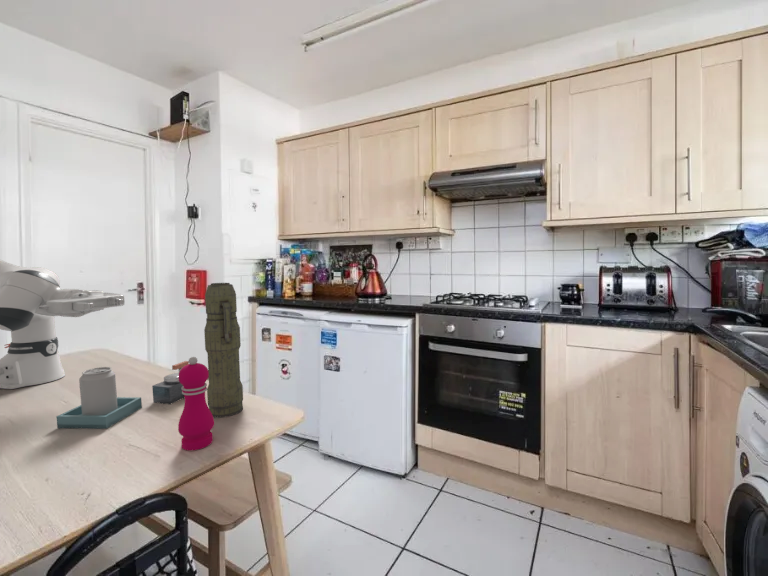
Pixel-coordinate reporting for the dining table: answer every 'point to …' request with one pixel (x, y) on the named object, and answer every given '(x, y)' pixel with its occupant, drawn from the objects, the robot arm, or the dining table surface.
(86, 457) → the dining table surface
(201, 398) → the pepper mill
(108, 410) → the can
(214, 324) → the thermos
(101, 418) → the tray
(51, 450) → the dining table surface
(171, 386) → the crank housing
